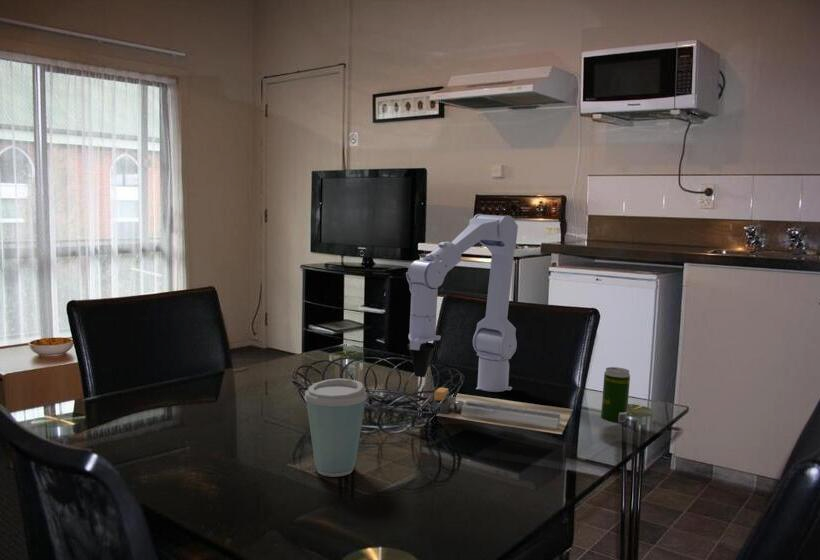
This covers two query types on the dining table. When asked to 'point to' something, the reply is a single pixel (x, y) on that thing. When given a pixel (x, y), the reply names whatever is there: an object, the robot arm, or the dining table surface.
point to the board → (564, 412)
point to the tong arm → (506, 409)
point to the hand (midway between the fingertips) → (420, 376)
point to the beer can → (615, 394)
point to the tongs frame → (498, 415)
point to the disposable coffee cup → (335, 424)
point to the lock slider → (440, 393)
